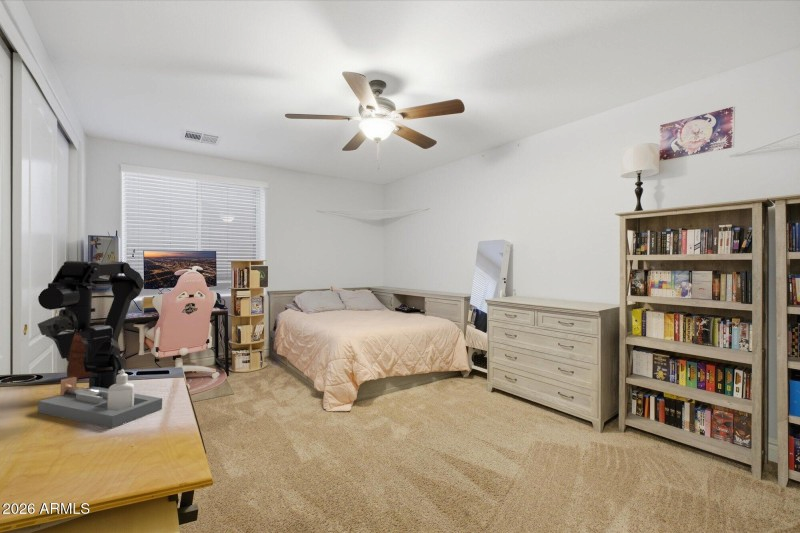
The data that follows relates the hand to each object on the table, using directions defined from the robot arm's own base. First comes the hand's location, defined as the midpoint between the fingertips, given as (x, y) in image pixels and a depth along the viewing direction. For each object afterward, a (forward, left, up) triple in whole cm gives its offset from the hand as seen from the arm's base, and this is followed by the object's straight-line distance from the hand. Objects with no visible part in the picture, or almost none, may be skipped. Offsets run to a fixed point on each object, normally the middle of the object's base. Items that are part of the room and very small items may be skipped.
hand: (76, 359), depth 103 cm
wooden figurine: (-20, -26, -13) cm, 35 cm away
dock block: (0, +11, -13) cm, 17 cm away
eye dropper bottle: (0, +18, -13) cm, 22 cm away
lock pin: (0, +3, -10) cm, 10 cm away
